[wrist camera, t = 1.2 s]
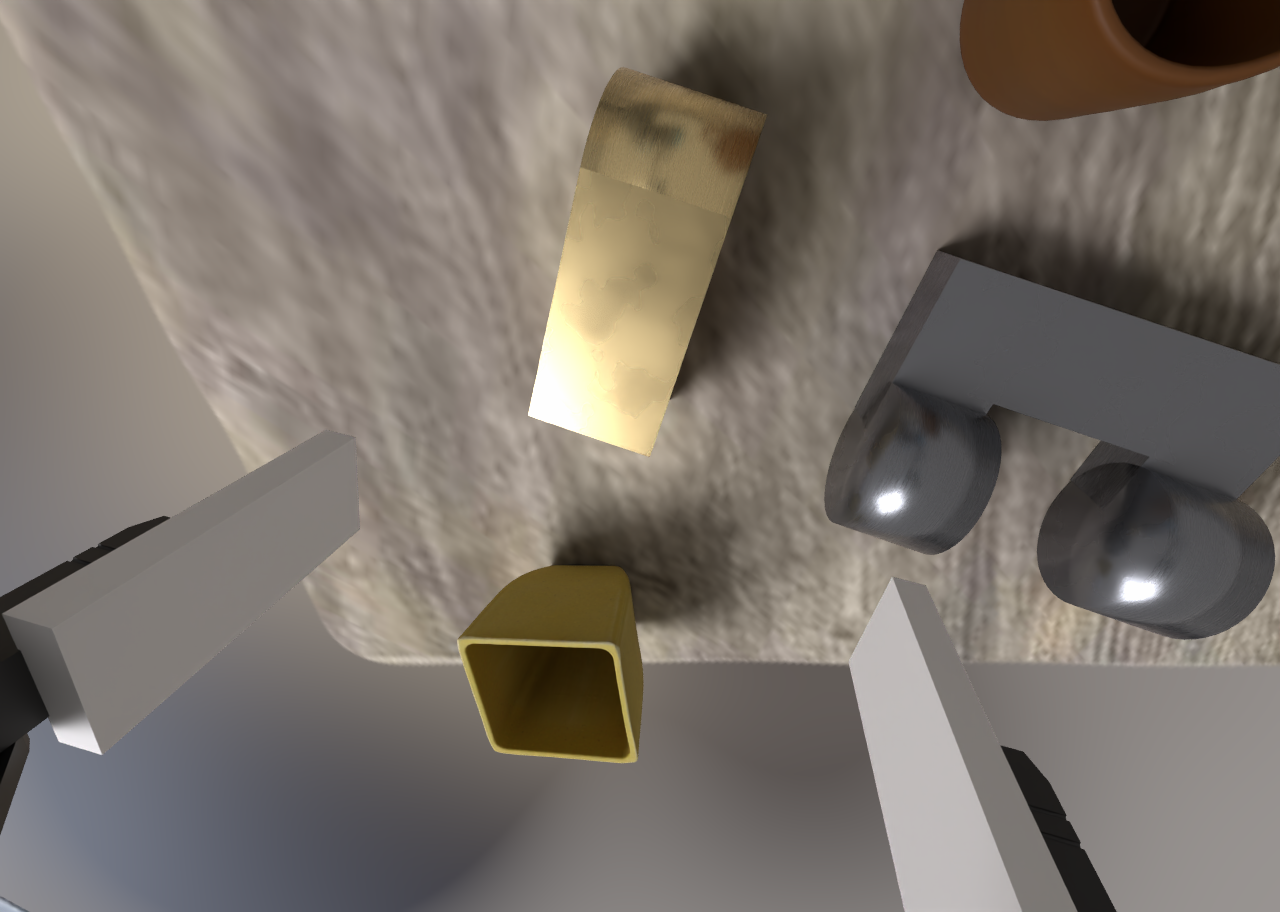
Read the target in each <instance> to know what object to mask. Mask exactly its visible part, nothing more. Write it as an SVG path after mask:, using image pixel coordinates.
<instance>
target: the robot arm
mask: <svg viewBox="0 0 1280 912" xmlns="http://www.w3.org/2000/svg"><path fill="white" fill-rule="evenodd" d="M359 529H360V519H359V498H358V477H357V456H356V437H353V436H349V435H345V434H341V433H337V432H334V431H330V430H325V431H323V432H321V433H320V434H318V435H316V436H314V437H312V438H311V439H309V440H307V441H305V442H304V443H302V444H300V445H298V446H297V447H295V448H293V449H291V450H290V451H288V452H286V453H284V454H283V455H281V456H279V457H277V458H275V459H274V460H272V461H270V462H268V463H267V464H265V465H263V466H261V467H260V468H258V469H256V470H254V471H253V472H251V473H249V474H247V475H246V476H244V477H242V478H240V479H239V480H237V481H235V482H233V483H232V484H230V485H228V486H226V487H224V488H223V489H221V490H219V491H217V492H216V493H214V494H212V495H210V496H209V497H207V498H205V499H203V500H202V501H200V502H198V503H196V504H194V505H193V506H191V507H189V508H188V509H186V510H184V511H182V512H181V513H179V514H177V515H175V516H173V517H172V518H170V517H166V516H162V517H159V518H156V519H153V520H150V521H147V522H144V523H141V524H137V525H135V526H132V527H129V528H127V529H125V530H123V531H121V532H119V533H117V534H116V535H114V536H112V537H110V538H108V539H106V540H104V541H103V542H101V543H99V544H98V547H96V548H94V547H92V548H90V549H88V550H86V551H84V552H82V553H81V554H79V555H77V556H75V557H74V558H73V560H72V561H71V562H69V561H66V562H64V563H62V564H60V565H58V566H57V567H55V568H53V569H51V570H49V571H47V572H46V573H44V574H42V575H40V576H38V577H37V578H35V579H33V580H31V581H29V582H27V583H25V584H24V585H22V586H20V587H18V588H16V589H14V590H13V591H11V592H9V593H7V594H5V595H3V596H2V597H0V834H1V831H2V828H3V825H4V822H5V819H6V817H7V814H8V811H9V808H10V805H11V802H12V799H13V796H14V794H15V790H16V788H17V785H18V782H19V779H20V776H21V773H22V770H23V767H24V764H25V762H26V759H27V756H28V753H29V744H30V743H29V742H30V738H29V736H28V734H27V733H28V732H29V731H30V730H32V729H33V728H34V727H35V726H37V725H38V724H39V723H41V722H42V721H44V720H45V719H46V718H47V717H48V718H49V721H50V723H51V725H52V727H53V729H54V732H55V734H56V736H57V738H58V740H59V742H62V743H65V744H68V745H72V746H75V747H78V748H81V749H84V750H88V751H91V752H94V753H97V754H101V755H103V754H104V753H105V752H106V751H107V750H108V749H110V748H111V747H112V746H113V745H114V744H115V743H116V742H117V741H119V740H120V739H121V738H122V737H123V736H124V735H126V734H127V733H128V732H129V731H130V730H131V729H132V728H134V726H136V725H137V724H138V723H139V722H140V721H142V720H143V719H144V718H145V717H146V716H147V715H148V714H150V713H151V712H152V711H153V710H154V709H155V708H156V707H158V706H159V705H160V704H161V703H162V702H163V701H164V700H166V699H167V698H168V697H169V696H170V695H171V694H172V693H173V692H175V691H176V690H177V689H178V688H179V687H180V686H181V685H183V684H184V683H185V682H186V681H187V680H188V679H189V678H191V677H192V676H193V675H194V674H195V673H196V672H197V671H199V670H200V669H201V668H202V667H203V666H204V665H205V664H207V663H208V662H209V661H210V660H211V659H212V658H213V657H215V656H216V655H217V654H218V653H219V652H220V651H221V650H223V648H225V646H227V645H228V644H229V643H231V642H232V641H233V640H234V639H235V638H236V637H237V636H239V635H240V634H241V633H242V632H243V631H244V630H245V629H246V628H247V627H249V626H250V625H251V624H252V623H253V622H254V621H256V620H257V619H258V618H259V617H260V616H261V615H262V614H263V613H265V612H266V611H267V610H268V609H269V608H270V607H271V606H273V605H274V604H275V603H276V602H277V601H278V600H280V599H281V598H282V597H283V596H284V595H285V594H286V593H288V592H289V591H290V590H291V589H292V588H293V587H294V586H295V585H297V584H298V583H299V582H300V581H301V580H302V579H304V578H305V577H306V576H307V575H308V574H309V573H310V572H312V571H313V570H314V569H315V568H316V567H317V566H318V565H320V564H321V563H322V562H323V561H324V560H325V559H326V558H327V557H329V556H330V555H331V554H332V553H333V552H334V551H335V550H337V549H338V548H339V547H340V546H341V545H342V544H343V543H345V542H346V541H347V540H348V539H349V538H350V537H351V536H353V535H354V534H355V533H356V532H357V531H358V530H359ZM849 665H850V670H851V674H852V679H853V683H854V688H855V692H856V697H857V701H858V705H859V710H860V714H861V719H862V723H863V728H864V732H865V737H866V741H867V746H868V750H869V754H870V759H871V763H872V768H873V772H874V777H875V781H876V786H877V790H878V795H879V799H880V803H881V808H882V812H883V817H884V821H885V826H886V830H887V835H888V839H889V843H890V848H891V852H892V857H893V861H894V865H895V870H896V875H897V879H898V884H899V887H900V893H901V897H902V901H903V906H904V910H905V912H1116V910H1115V908H1114V906H1113V904H1112V902H1111V900H1110V898H1109V896H1108V894H1107V893H1106V890H1105V889H1104V887H1103V885H1102V883H1101V881H1100V879H1099V877H1098V875H1097V873H1096V871H1095V869H1094V867H1093V865H1092V864H1091V862H1090V860H1089V858H1088V856H1087V854H1086V852H1085V850H1083V849H1081V848H1080V840H1079V838H1078V837H1077V835H1076V833H1075V831H1074V829H1073V827H1072V825H1071V823H1070V822H1069V821H1067V820H1066V814H1065V811H1064V810H1063V808H1062V806H1061V804H1060V802H1059V800H1058V798H1057V796H1056V794H1055V792H1054V790H1053V789H1052V786H1051V785H1050V783H1049V781H1048V780H1047V779H1046V778H1045V777H1044V776H1043V774H1042V773H1041V772H1040V771H1039V770H1038V768H1037V767H1036V766H1035V765H1034V764H1033V762H1032V761H1031V760H1030V759H1029V758H1028V757H1027V756H1026V754H1025V753H1024V752H1023V751H1019V750H1015V749H1012V748H1008V747H1004V746H1001V745H1000V744H999V742H998V740H997V738H996V736H995V733H994V731H993V729H992V727H991V725H990V723H989V720H988V718H987V716H986V714H985V712H984V710H983V707H982V706H981V703H980V701H979V699H978V697H977V695H976V692H975V690H974V688H973V686H972V684H971V682H970V679H969V677H968V675H967V673H966V671H965V669H964V667H963V664H962V662H961V660H960V658H959V656H958V654H957V651H956V649H955V647H954V645H953V643H952V641H951V639H950V636H949V634H948V632H947V630H946V628H945V626H944V623H943V621H942V619H941V617H940V615H939V613H938V611H937V608H936V606H935V604H934V602H933V600H932V598H931V596H930V593H929V591H928V589H927V587H926V585H922V584H918V583H915V582H911V581H907V580H903V579H899V578H895V577H892V578H891V580H890V582H889V584H888V586H887V588H886V590H885V592H884V594H883V596H882V598H881V600H880V602H879V603H878V605H877V607H876V609H875V611H874V613H873V615H872V617H871V619H870V621H869V623H868V625H867V627H866V629H865V631H864V633H863V635H862V637H861V639H860V640H859V642H858V644H857V646H856V648H855V650H854V652H853V654H852V656H851V658H850V660H849Z"/></svg>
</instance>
